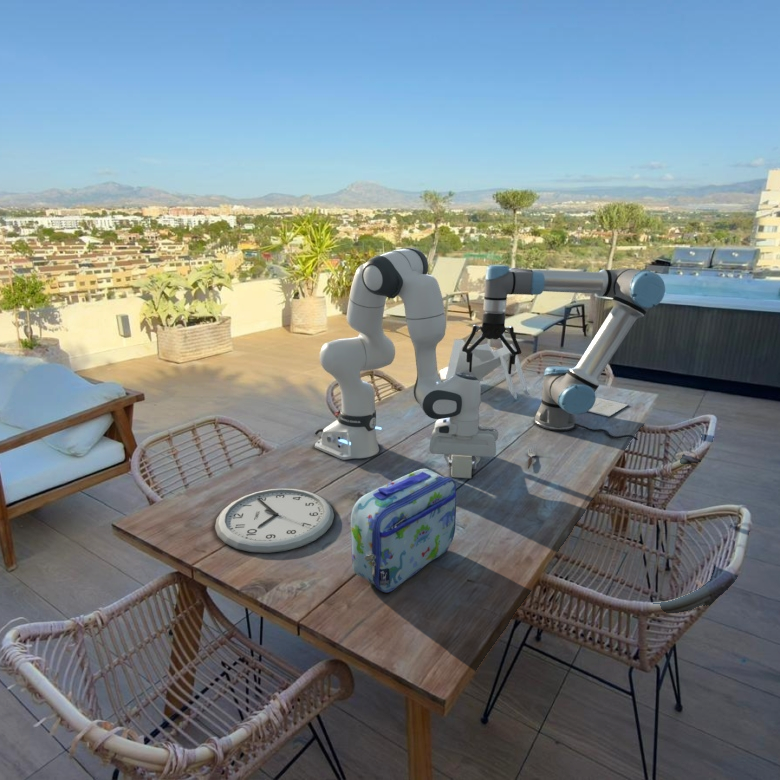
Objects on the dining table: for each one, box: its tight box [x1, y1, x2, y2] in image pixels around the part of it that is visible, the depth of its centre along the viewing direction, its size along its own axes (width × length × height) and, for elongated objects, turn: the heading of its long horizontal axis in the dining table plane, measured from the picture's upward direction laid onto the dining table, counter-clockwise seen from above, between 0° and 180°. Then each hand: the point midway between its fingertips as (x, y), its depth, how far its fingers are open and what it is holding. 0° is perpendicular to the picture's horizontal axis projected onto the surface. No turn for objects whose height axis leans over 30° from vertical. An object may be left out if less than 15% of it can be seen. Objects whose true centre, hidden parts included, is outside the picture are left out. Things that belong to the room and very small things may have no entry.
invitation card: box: [587, 396, 629, 418], centre depth 226 cm, size 21×1×15 cm
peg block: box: [450, 455, 473, 479], centre depth 170 cm, size 6×24×6 cm, turn 173°
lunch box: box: [350, 468, 457, 593], centre depth 114 cm, size 26×11×21 cm, turn 134°
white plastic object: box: [438, 332, 531, 400], centre depth 245 cm, size 37×45×31 cm
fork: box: [527, 445, 537, 469], centre depth 172 cm, size 3×16×2 cm, turn 160°
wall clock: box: [214, 488, 335, 554], centre depth 135 cm, size 30×2×30 cm
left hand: (461, 467), depth 162 cm, fingers closed on peg block, 6 cm apart
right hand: (489, 372), depth 184 cm, fingers open, 13 cm apart
